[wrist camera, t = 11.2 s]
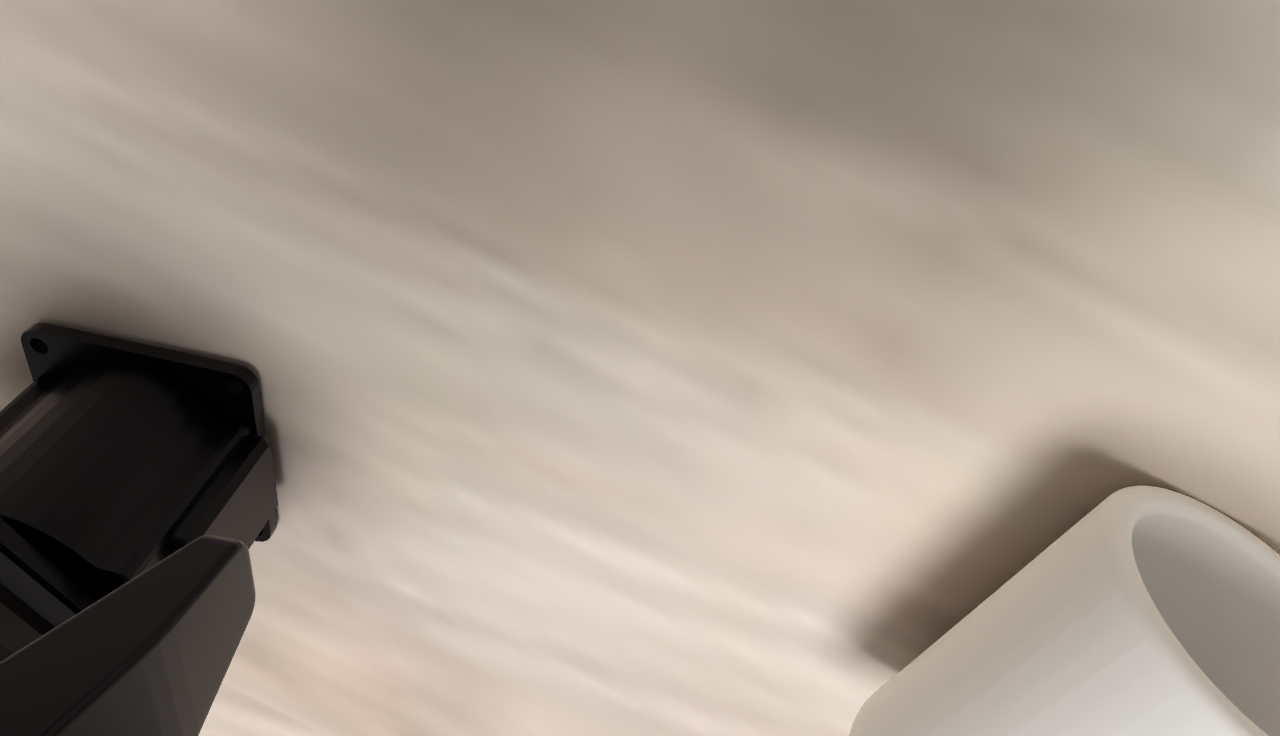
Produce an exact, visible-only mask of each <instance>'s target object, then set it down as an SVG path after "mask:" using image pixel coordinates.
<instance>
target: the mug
mask: <svg viewBox="0 0 1280 736" xmlns="http://www.w3.org/2000/svg"><path fill="white" fill-rule="evenodd" d="M849 736H1280V555H1279V554H1278V553H1277V552H1275V551H1274V550H1273V549H1272V548H1270V547H1269V546H1268V545H1267V544H1265V543H1264V542H1263V541H1262V540H1260V539H1259V538H1257V537H1256V536H1255V535H1253V534H1252V533H1251V532H1249V531H1248V530H1246V529H1245V528H1244V527H1242V526H1241V525H1239V524H1238V523H1236V522H1235V521H1233V520H1231V519H1230V518H1228V517H1227V516H1225V515H1223V514H1222V513H1220V512H1218V511H1216V510H1215V509H1213V508H1211V507H1209V506H1207V505H1205V504H1203V503H1202V502H1199V501H1197V500H1195V499H1193V498H1191V497H1188V496H1186V495H1183V494H1181V493H1178V492H1174V491H1171V490H1168V489H1164V488H1160V487H1153V486H1131V487H1126V488H1123V489H1120V490H1118V491H1116V492H1114V493H1112V494H1111V495H1110V496H1108V497H1107V498H1106V499H1105V500H1104V501H1102V502H1101V503H1100V504H1099V505H1098V506H1096V507H1095V508H1094V509H1093V510H1092V511H1090V512H1089V513H1088V514H1087V515H1086V516H1084V517H1083V518H1082V519H1081V520H1080V521H1079V522H1077V523H1076V524H1075V525H1074V526H1073V527H1071V528H1070V529H1069V530H1068V531H1067V532H1065V533H1064V534H1063V535H1062V536H1061V537H1060V538H1058V539H1057V540H1056V541H1055V542H1054V543H1052V544H1051V545H1050V546H1049V547H1048V548H1046V549H1045V550H1044V551H1043V552H1042V553H1041V554H1039V555H1038V556H1037V557H1036V558H1035V559H1033V560H1032V561H1031V562H1030V563H1029V564H1027V565H1026V566H1025V567H1024V568H1023V569H1021V570H1020V571H1019V572H1018V573H1017V574H1016V575H1014V576H1013V577H1012V578H1011V579H1010V580H1008V581H1007V582H1006V583H1005V584H1004V585H1002V586H1001V587H1000V588H999V589H998V590H997V591H995V592H994V593H993V594H992V595H991V596H989V597H988V598H987V599H986V600H985V601H983V602H982V603H981V604H980V605H979V606H977V607H976V608H975V609H974V610H973V611H972V612H970V613H969V614H968V615H967V616H966V617H964V618H963V619H962V620H961V621H960V622H958V623H957V624H956V625H955V626H954V627H953V628H951V629H950V630H949V631H948V632H947V633H945V634H944V635H943V636H942V637H941V638H939V639H938V640H937V641H936V642H935V643H934V644H932V645H931V646H930V647H929V648H928V649H926V650H925V651H924V652H923V653H922V654H920V655H919V656H918V657H917V658H916V659H914V660H913V661H912V662H911V663H910V664H909V665H907V666H906V667H905V668H904V669H903V670H901V671H900V672H899V673H898V674H897V675H895V676H894V677H893V678H892V679H891V680H890V681H888V682H887V683H886V684H885V685H884V686H882V687H881V688H880V689H879V690H878V691H876V692H875V693H874V694H873V695H872V696H871V697H870V698H869V699H868V700H867V701H866V702H865V703H864V704H863V706H862V707H861V709H860V710H859V712H858V714H857V716H856V718H855V720H854V722H853V725H852V728H851V731H850V735H849Z"/></svg>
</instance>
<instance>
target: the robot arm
mask: <svg viewBox="0 0 1280 736" xmlns="http://www.w3.org/2000/svg"><path fill="white" fill-rule="evenodd" d="M21 342H22V346H23V349H24V352H25V355H26V359H27V362H28V365H29V368H30V371H31V375H32V378H33V381H34V382H33V383H32V384H31V385H30V386H29V387H27V388H26V389H25V390H24V391H23V392H22V393H21V394H20V395H18V396H17V397H16V398H15V399H14V400H13V401H12V402H10V403H9V404H8V405H7V406H6V407H5V408H4V409H3V410H1V411H0V736H198V735H199V733H200V730H201V728H202V726H203V724H204V721H205V719H206V717H207V715H208V712H209V710H210V708H211V706H212V703H213V701H214V699H215V697H216V694H217V692H218V690H219V688H220V685H221V683H222V681H223V679H224V676H225V674H226V672H227V670H228V667H229V665H230V663H231V661H232V658H233V656H234V654H235V652H236V649H237V647H238V645H239V643H240V640H241V638H242V636H243V634H244V631H245V629H246V627H247V625H248V622H249V620H250V618H251V615H252V612H253V609H254V604H255V587H254V580H253V574H252V568H251V561H250V555H249V551H248V549H249V548H250V546H251V545H252V543H253V542H254V541H262V542H263V541H266V540H268V539H269V538H270V537H271V535H272V534H273V532H274V531H275V529H276V527H277V521H276V513H275V509H276V508H277V505H278V500H277V492H276V485H275V477H274V469H273V461H272V453H271V446H270V444H269V442H268V440H267V438H266V436H265V428H264V420H263V413H262V405H261V397H260V389H259V383H258V380H257V378H256V376H255V375H254V374H253V373H252V372H251V371H250V370H248V369H247V368H245V367H243V366H240V365H236V364H231V363H227V362H222V361H217V360H213V359H208V358H204V357H199V356H194V355H190V354H185V353H181V352H176V351H171V350H167V349H162V348H157V347H153V346H148V345H144V344H139V343H134V342H130V341H125V340H121V339H116V338H111V337H107V336H102V335H98V334H93V333H88V332H84V331H79V330H74V329H70V328H65V327H61V326H56V325H51V324H47V323H36V324H34V325H32V326H31V327H30V328H29V329H27V330H26V331H25V332H24V333H23V334H22V336H21ZM234 382H236V383H238V384H239V385H240V386H241V387H240V386H238V385H237V384H236V383H234Z"/></svg>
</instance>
